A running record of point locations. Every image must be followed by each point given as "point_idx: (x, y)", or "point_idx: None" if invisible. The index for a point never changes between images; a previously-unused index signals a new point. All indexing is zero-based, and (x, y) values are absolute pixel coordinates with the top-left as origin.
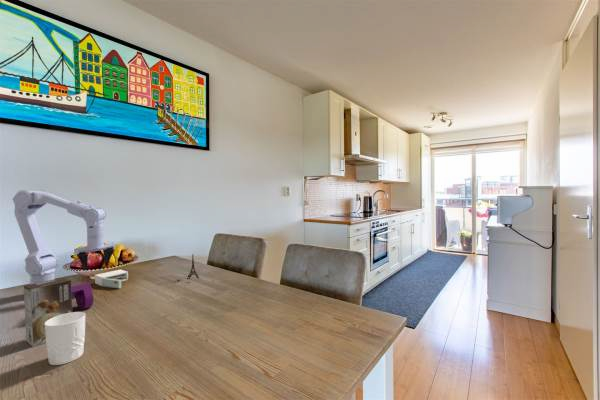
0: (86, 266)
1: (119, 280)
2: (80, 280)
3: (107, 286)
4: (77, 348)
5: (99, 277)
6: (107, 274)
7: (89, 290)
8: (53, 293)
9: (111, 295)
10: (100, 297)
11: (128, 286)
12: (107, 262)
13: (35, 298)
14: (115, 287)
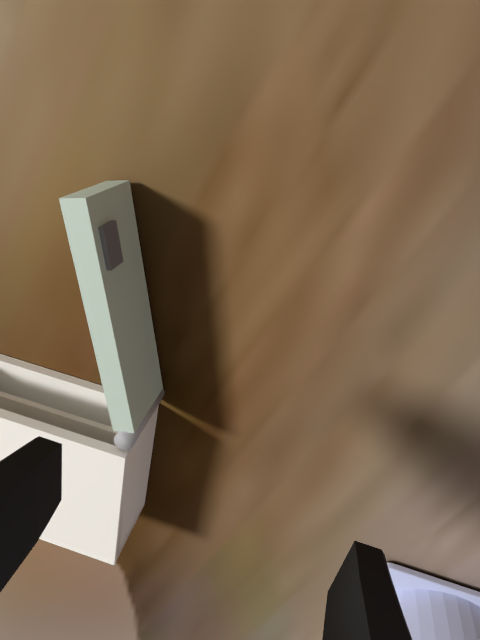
0: (382, 612)
1: (79, 200)
2: (153, 617)
3: (153, 340)
4: None
5: (124, 493)
6: None
7: None
8: None
9: (299, 41)
10: (386, 109)
11: (45, 161)
12: (6, 482)
13: None
14: (136, 236)
